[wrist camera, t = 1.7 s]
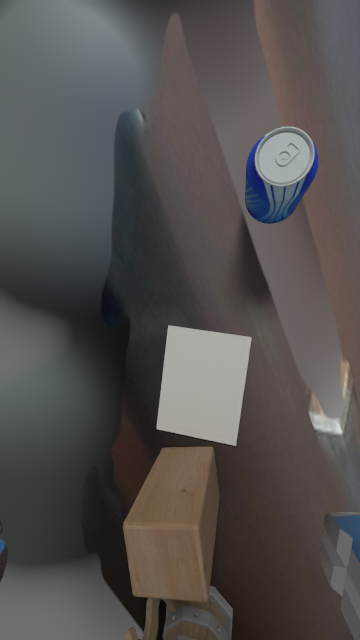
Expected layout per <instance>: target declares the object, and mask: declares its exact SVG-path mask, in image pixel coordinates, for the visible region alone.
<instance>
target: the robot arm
mask: <svg viewBox="0 0 360 640" xmlns="http://www.w3.org/2000/svg"><path fill="white" fill-rule="evenodd" d="M323 526H324V528H325V530H326V531H327V533H326V534H325V535H324V536H323V537H322V538H321V545H320V553H321V560H322V565H323V568H324V571H325V574H326V576H327V579H328V581H329V583H330V586H331V587H332V588H333V589H334V590H335V591H336V592H338V593H339V594H340V595H341V596H342V602H341V611H342V613H343V615H344V617H345V619H346V622H347V624H348V626H349V628H350V631H351V633H352V635H353V637H354V639H355V640H360V512H343V513H327V514H326V515H325V517H324V523H323ZM2 531H3V528H2V524H1V521H0V534H1V533H2ZM6 563H7V547H6V544H5V543H4V542H3V541H2V540H1V539H0V581H1V579H2V577H3V574H4V570H5V567H6Z"/></svg>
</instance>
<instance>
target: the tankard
mask: <svg viewBox="0 0 360 640" xmlns="http://www.w3.org/2000/svg"><path fill="white" fill-rule="evenodd" d="M160 600H161V598H149V597H148V600H147V609H146V625H145V630H144V634H143V640H156V638H157V632H158V607H159V604H160ZM162 600H163V601H165V603H166V604H167V607H166V622H165V626H164V633H163V640H231V632H232V617H233V609H232V607H231V606H230V605H229V604H228V603H227V601H226V600H225V599H224V598H223V597H222V595H221V594H220V593H219V592H218V590H217V589H216V588H215V587H214V586H210V590H209V598H208V601H207V602H196V601H184V600H173V599H162ZM124 638H125V640H140V639H138V637H137V634H136V630H135V628H134V627H132V628H130V629H128V630H127V631H126V632H124Z"/></svg>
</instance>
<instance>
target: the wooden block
mask: <svg viewBox="0 0 360 640" xmlns="http://www.w3.org/2000/svg"><path fill="white" fill-rule="evenodd" d="M219 498H220V495H219V487H218V479H217V471H216V463H215V455H214V449H213V447H211V446H210V447H169V448H162V450H161V452H160V454H159V455H158V457H157V459H156V461H155V463H154V465H153V467H152V469H151V471H150V473H149V475H148V477H147V479H146V481H145V483H144V485H143V487H142V488H141V490H140V492H139V494H138V496H137V498H136V500H135V502H134V504H133V506H132V508H131V510H130V512H129V514H128V516H127V518H126V520H125V521H124V524H123V530H124V536H125V543H126V550H127V557H128V564H129V571H130V578H131V585H132V592H133V595H134V596H137V597H149V598H161V599H173V600H184V601H196V602H207V601H208V598H209V590H210V581H211V572H212V562H213V553H214V544H215V535H216V525H217V516H218V507H219Z"/></svg>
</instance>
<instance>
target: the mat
mask: <svg viewBox="0 0 360 640" xmlns="http://www.w3.org/2000/svg"><path fill="white" fill-rule="evenodd" d="M251 338H252V337H246V336H239V335H232V334H225V333H218V332H211V331H204V330H197V329H190V328H183V327H176V326H168V333H167V341H166V350H165V359H164V368H163V376H162V385H161V394H160V403H159V411H158V420H157V429H158V430H163V431H168V432H172V433H177V434H182V435H187V436H191V437H196V438H201V439H205V440H210V441H215V442H220V443H224V444H229V445H234V446H236V442H237V435H238V428H239V421H240V414H241V407H242V400H243V393H244V386H245V380H246V373H247V366H248V359H249V352H250V345H251Z"/></svg>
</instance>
